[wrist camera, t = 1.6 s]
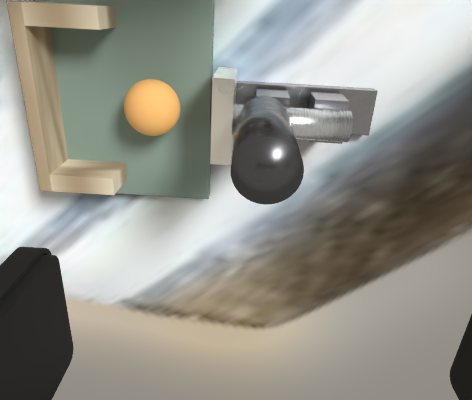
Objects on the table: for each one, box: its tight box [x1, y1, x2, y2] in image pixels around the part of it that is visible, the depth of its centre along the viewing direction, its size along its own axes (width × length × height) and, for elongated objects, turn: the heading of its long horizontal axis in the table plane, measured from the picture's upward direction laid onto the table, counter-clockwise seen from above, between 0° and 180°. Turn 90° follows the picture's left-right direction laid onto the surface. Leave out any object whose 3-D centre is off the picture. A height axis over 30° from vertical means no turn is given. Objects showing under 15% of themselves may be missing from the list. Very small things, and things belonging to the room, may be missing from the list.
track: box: [236, 81, 377, 135], centre depth 28 cm, size 11×3×1 cm, turn 87°
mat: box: [33, 0, 214, 199], centre depth 28 cm, size 11×14×1 cm
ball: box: [124, 79, 180, 136], centre depth 26 cm, size 4×4×4 cm
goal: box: [7, 1, 127, 195], centre depth 26 cm, size 5×11×3 cm, turn 177°
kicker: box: [210, 67, 353, 204], centre depth 22 cm, size 8×5×11 cm, turn 87°
